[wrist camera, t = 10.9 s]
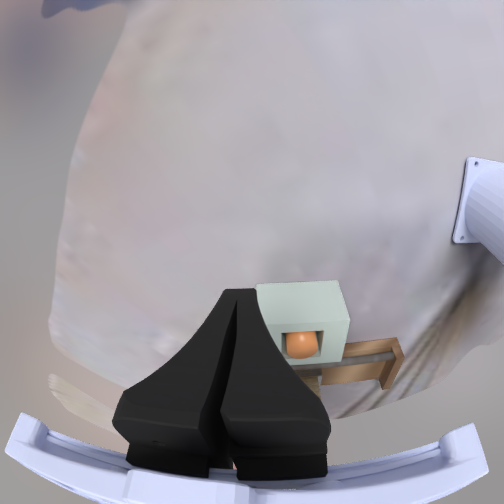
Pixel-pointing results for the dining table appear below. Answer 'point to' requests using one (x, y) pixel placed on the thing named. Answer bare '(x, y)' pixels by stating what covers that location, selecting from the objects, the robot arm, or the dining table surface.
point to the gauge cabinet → (306, 316)
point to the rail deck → (362, 363)
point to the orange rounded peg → (301, 344)
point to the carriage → (311, 379)
